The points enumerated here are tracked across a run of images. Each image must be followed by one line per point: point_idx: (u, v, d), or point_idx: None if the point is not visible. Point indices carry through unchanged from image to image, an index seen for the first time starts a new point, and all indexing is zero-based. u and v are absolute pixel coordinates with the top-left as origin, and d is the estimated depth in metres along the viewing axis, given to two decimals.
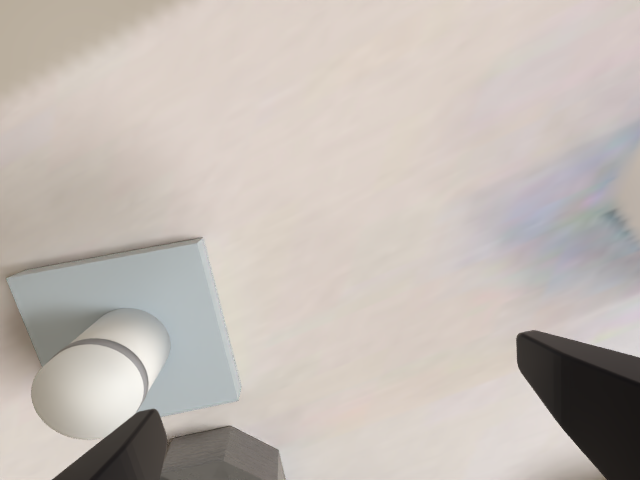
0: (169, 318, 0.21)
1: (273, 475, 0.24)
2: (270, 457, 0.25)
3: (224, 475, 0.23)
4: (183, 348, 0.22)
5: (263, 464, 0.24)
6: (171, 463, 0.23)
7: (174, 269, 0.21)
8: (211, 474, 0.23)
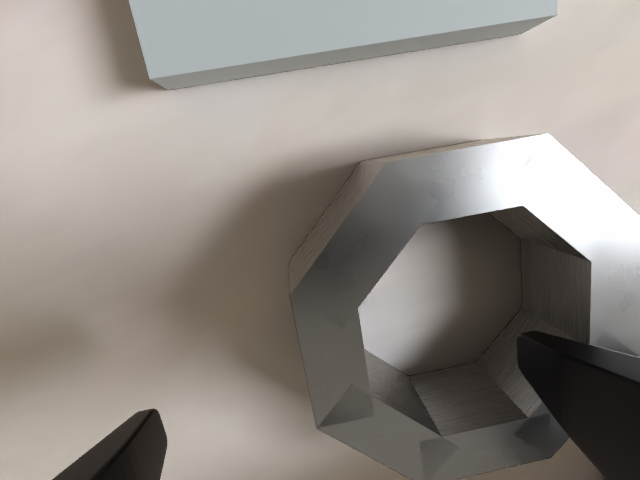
0: None
1: None
2: None
3: (540, 180, 0.09)
4: None
5: None
6: (400, 157, 0.09)
7: None
8: (513, 173, 0.09)
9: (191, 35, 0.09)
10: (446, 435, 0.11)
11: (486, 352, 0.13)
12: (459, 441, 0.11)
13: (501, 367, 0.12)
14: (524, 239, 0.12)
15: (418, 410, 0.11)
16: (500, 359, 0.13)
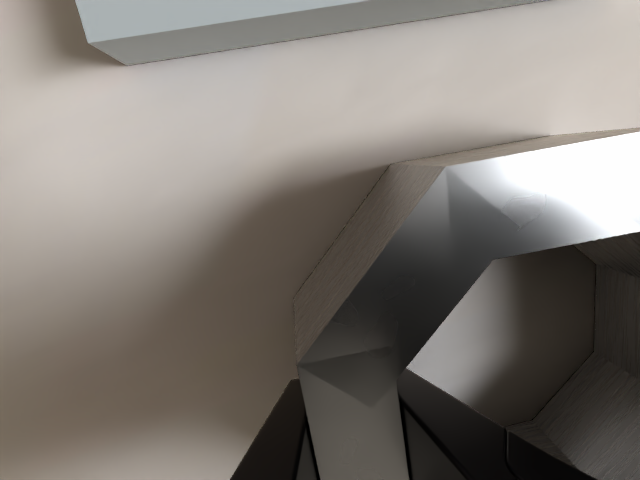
0: None
1: None
2: None
3: None
4: None
5: None
6: (460, 160, 0.06)
7: None
8: (632, 182, 0.06)
9: None
10: None
11: (546, 408, 0.10)
12: None
13: (571, 434, 0.09)
14: (603, 266, 0.09)
15: None
16: (568, 422, 0.10)
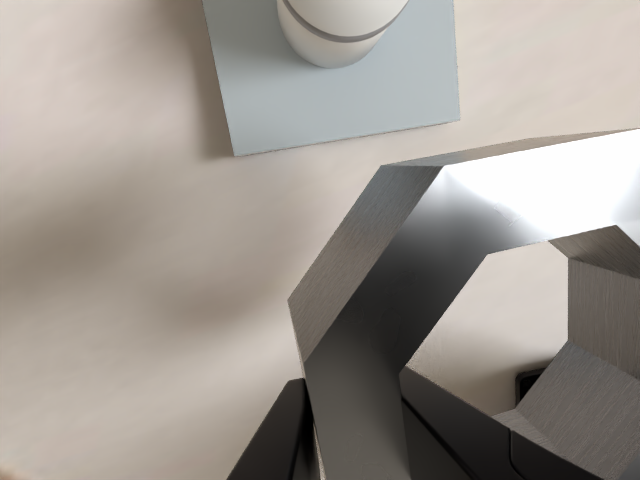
0: None
1: None
2: None
3: (637, 190, 0.07)
4: (401, 24, 0.16)
5: None
6: (453, 160, 0.07)
7: None
8: (606, 180, 0.06)
9: (258, 133, 0.16)
10: None
11: (527, 396, 0.11)
12: None
13: (552, 418, 0.10)
14: (574, 260, 0.10)
15: None
16: (548, 407, 0.10)
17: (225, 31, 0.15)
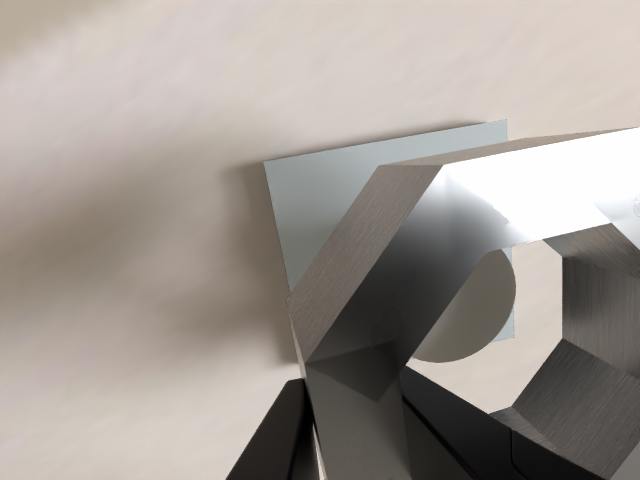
0: None
1: None
2: None
3: (632, 189, 0.07)
4: None
5: None
6: (451, 159, 0.07)
7: None
8: (602, 180, 0.07)
9: None
10: None
11: (522, 394, 0.11)
12: None
13: (548, 416, 0.10)
14: (568, 259, 0.10)
15: None
16: (544, 405, 0.10)
17: None
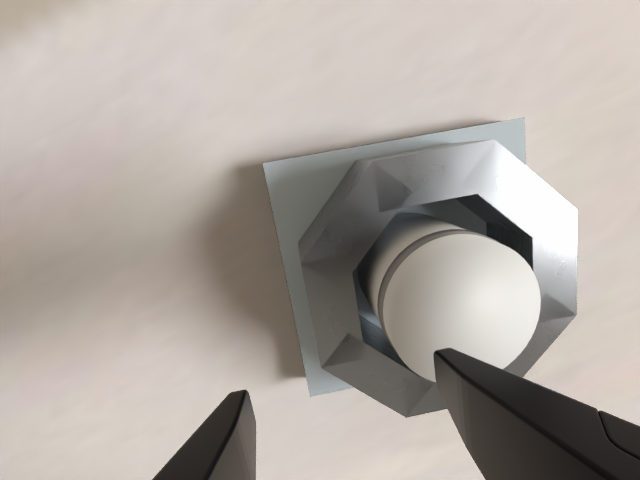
0: (467, 229, 0.15)
1: None
2: None
3: (489, 174, 0.12)
4: None
5: None
6: (384, 157, 0.12)
7: None
8: (468, 169, 0.12)
9: (333, 376, 0.16)
10: None
11: None
12: None
13: None
14: (488, 223, 0.15)
15: None
16: None
17: (305, 292, 0.15)
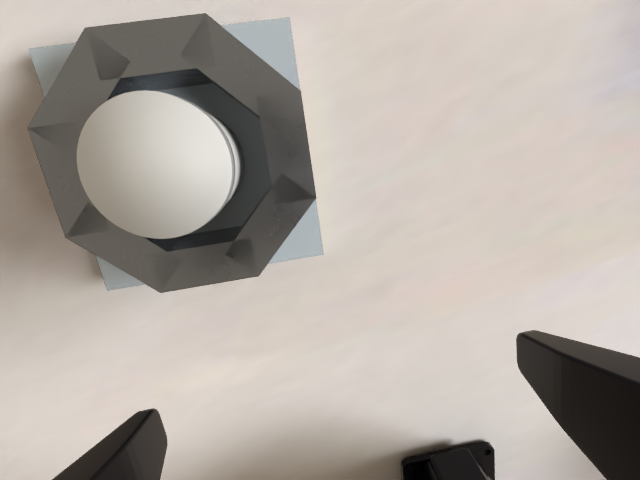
0: (245, 128, 0.16)
1: None
2: None
3: (206, 49, 0.13)
4: (260, 174, 0.17)
5: None
6: None
7: None
8: (184, 42, 0.12)
9: None
10: (171, 251, 0.14)
11: (248, 217, 0.17)
12: (182, 256, 0.14)
13: (246, 221, 0.16)
14: None
15: (161, 239, 0.15)
16: (248, 217, 0.16)
17: None
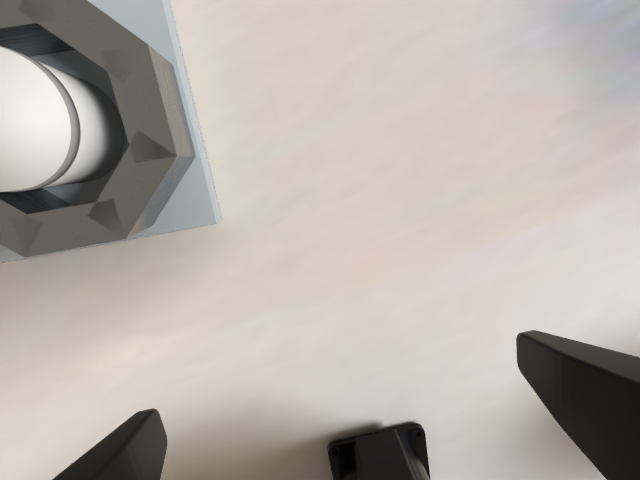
0: None
1: None
2: None
3: (44, 3, 0.12)
4: None
5: None
6: None
7: (127, 19, 0.15)
8: None
9: None
10: (32, 214, 0.14)
11: None
12: (43, 219, 0.14)
13: None
14: None
15: (27, 204, 0.15)
16: None
17: None
